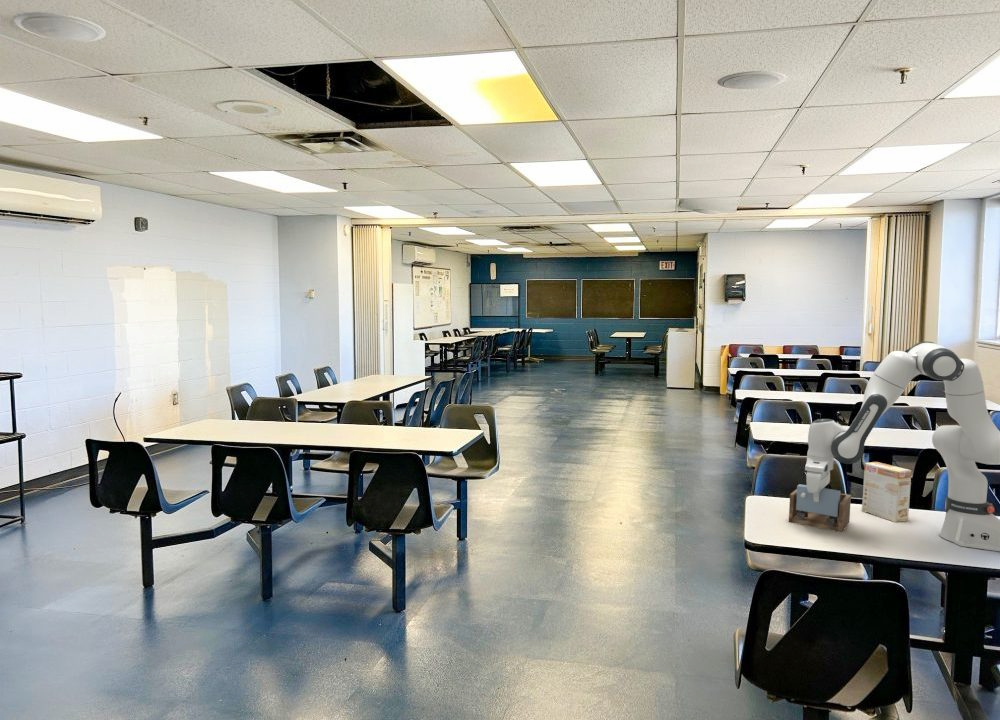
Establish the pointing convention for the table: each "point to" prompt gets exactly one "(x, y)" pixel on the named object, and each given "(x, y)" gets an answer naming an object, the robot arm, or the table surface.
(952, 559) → the table surface
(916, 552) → the table surface
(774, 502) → the table surface
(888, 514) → the coffeecake box
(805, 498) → the door
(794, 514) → the cabinet
